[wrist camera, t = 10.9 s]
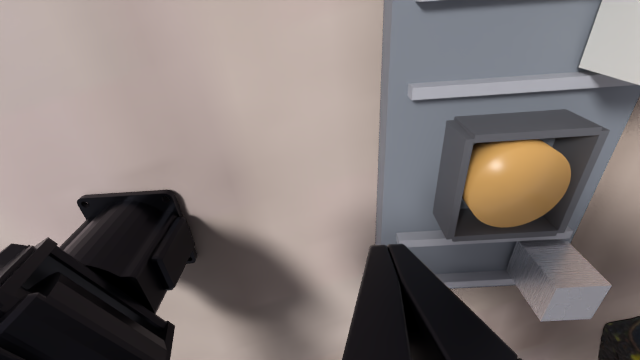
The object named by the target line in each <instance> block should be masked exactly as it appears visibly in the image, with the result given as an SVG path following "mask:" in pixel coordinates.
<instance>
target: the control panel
mask: <svg viewBox="0 0 640 360" xmlns="http://www.w3.org/2000/svg"><path fill="white" fill-rule="evenodd" d="M601 2H602V0H384V15H383V43H382V71H381V100H380V128H379V156H378V185H377V213H376V241H375V245H383V244H384V245H386V246H387V245H389V244H404V245H405V246H406V247H407V248H408V249H409V250H410V251H411V252H412V253H414V254H415V255H416V256H417V257H418V258H419V259H420V260H421V261H422V262H423V263H424V264H425V265H426V266H427V267H428V268H429V269H430V270H431V271H432V272H433V273H434V274H435V275H436V276H437V277H438V278H439V279H440V280H441V281H442V282H443V283H444V284H445V285H446V286H447V287H448V288H449V289H453V288H472V287H491V286H510V285H516V284H515V283H514V282H513V280H512V279H511V277H510V276H509V274H508V273H507V271H506V270H507V267H508V264H509V261H510V258H511V256H512V253H513V250H514V247H515V244H516V241H531V240H548V239H566V240H567V241H568V242H569V243H571V240H572V238H573V236H574V234H575V232H576V230H577V228H578V226H579V224H580V221H581V219H582V217H583V215H584V213H585V211H586V209H587V207H588V204H589V202H590V200H591V198H592V196H593V194H594V192H595V190H596V187H597V185H598V183H599V181H600V179H601V177H602V175H603V173H604V170H605V168H606V166H607V164H608V162H609V160H610V158H611V156H612V153H613V151H614V149H615V147H616V145H617V143H618V141H619V139H620V137H621V134H622V132H623V130H624V128H625V126H626V124H627V122H628V120H629V117H630V115H631V113H632V111H633V109H634V107H635V105H636V103H637V100H638V98H639V96H640V85H637V84H634V83H630V82H627V81H623V80H620V79H617V78H613V77H610V76H606V75H603V74H600V73H596V72H593V71H589V70H586V69H582V68H579V65H580V62H581V59H582V56H583V53H584V50H585V48H586V45H587V42H588V39H589V36H590V33H591V30H592V28H593V25H594V22H595V19H596V16H597V13H598V11H599V8H600V5H601ZM529 139H540V140H542V141H543V142H545V143H546V144H548V145H549V146H551V147H552V148H554V149H555V150H557V151H558V152H560V153H561V154H562V155H563V156H564V157H565V158H566V159H567V161H568V162H569V165H570V169H571V179H570V183H569V186H568V188H567V191H566V193H565V194H564V196H563V197H562V198H561V200H560V201H559V202H558V203H557V204H556V205H555V206H554V207H553V208H552V209H551V210H550V211H548V212H547V213H546V214H544V215H543V216H541V217H539V218H538V219H535V220H533V221H531V222H529V223H526V224H523V225H519V226H515V227H494V226H490V225H487V224H485V223H483V222H481V221H480V220H478V219H477V218H476V217H475V215H474V214H473V213H472V211H471V210H470V208H469V207H468V206H467V204H466V203H465V201H464V200H463V198H462V196H463V191H464V187H465V182H466V177H467V172H468V167H469V163H470V158H471V153H472V148H473V146H474V145H475V144H476V143H483V142H498V141H514V140H529Z"/></svg>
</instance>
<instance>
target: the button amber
mask: <svg viewBox="0 0 640 360" xmlns="http://www.w3.org/2000/svg"><path fill="white" fill-rule="evenodd" d="M570 179H571V169H570V165H569V162H568V161H567V159H566V158H565V157H564V156H563V155H562V154H561V153H560V152H558V151H557V150H555V149H554V148H552V147H551V146H549V145H548V144H546V143H545V142H543V141H542V140H540V139H529V140H514V141H498V142H483V143H476V144H475V145H474V146H473V148H472V153H471V158H470V163H469V167H468V172H467V177H466V182H465V187H464V191H463V196H462V198H463V200H464V201H465V203H466V204H467V206H468V207H469V208H470V210H471V211H472V213H473V214H474V215H475V217H476V218H477V219H478V220H480V221H481V222H483V223H485V224H487V225H490V226H494V227H515V226H519V225H523V224H526V223H529V222H531V221H533V220H535V219H538V218H539V217H541V216H543V215H544V214H546V213H547V212H548V211H550V210H551V209H552V208H553V207H554V206H555V205H556V204H557V203H558V202H559V201H560V200H561V198H562V197H563V196H564V194H565V193H566V191H567V188H568V186H569V183H570Z"/></svg>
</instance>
